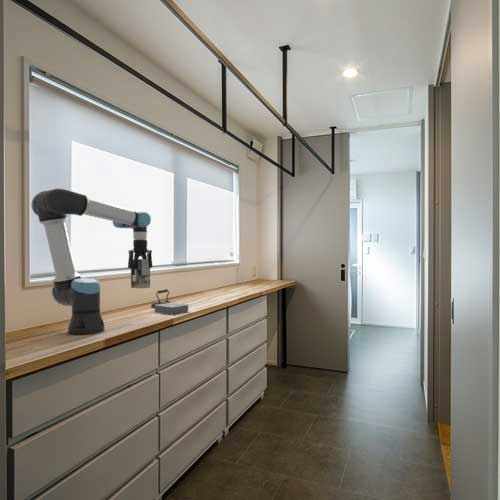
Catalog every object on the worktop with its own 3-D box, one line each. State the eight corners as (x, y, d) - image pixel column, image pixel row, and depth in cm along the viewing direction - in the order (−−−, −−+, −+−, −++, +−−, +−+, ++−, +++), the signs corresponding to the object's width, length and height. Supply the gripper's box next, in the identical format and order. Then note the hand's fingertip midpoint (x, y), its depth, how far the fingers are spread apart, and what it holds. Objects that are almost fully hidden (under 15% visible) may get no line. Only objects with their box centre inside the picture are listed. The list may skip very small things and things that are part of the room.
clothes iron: (162, 308, 228) (161, 291, 228) (150, 307, 233) (150, 290, 233) (176, 305, 241) (176, 288, 241) (165, 304, 245) (165, 288, 245)
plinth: (171, 314, 206) (171, 307, 206) (154, 311, 216) (154, 305, 216) (188, 311, 215) (188, 304, 215) (171, 309, 225) (171, 302, 225)
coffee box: (150, 287, 206) (150, 259, 206) (141, 288, 200) (141, 259, 201) (139, 287, 211) (139, 258, 211) (130, 288, 205) (130, 259, 206)
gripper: (151, 240, 216) (151, 279, 216) (120, 239, 201) (120, 281, 201) (159, 239, 211) (159, 279, 211) (128, 239, 196) (128, 282, 196)
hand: (140, 280), depth 206 cm, fingers closed on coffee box, 7 cm apart
